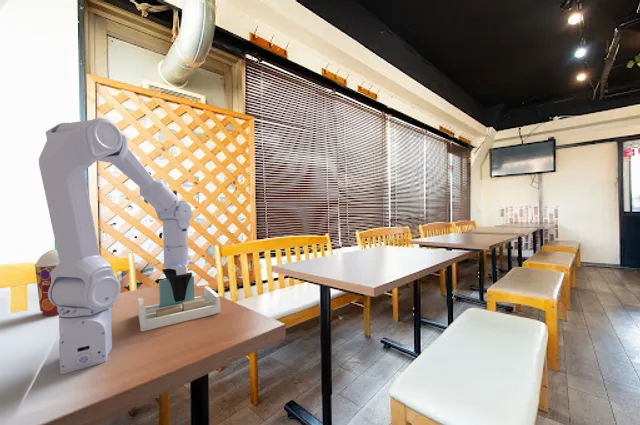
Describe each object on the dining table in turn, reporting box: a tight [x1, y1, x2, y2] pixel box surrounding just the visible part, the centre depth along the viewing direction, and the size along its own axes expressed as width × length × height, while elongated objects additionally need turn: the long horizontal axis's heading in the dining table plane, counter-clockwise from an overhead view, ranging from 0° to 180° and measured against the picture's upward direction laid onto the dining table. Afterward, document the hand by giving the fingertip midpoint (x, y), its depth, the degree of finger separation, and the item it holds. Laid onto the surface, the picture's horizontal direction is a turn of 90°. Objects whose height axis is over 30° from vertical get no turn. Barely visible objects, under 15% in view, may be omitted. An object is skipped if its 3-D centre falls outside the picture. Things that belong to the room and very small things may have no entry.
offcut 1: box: [156, 305, 181, 317], centre depth 64 cm, size 2×5×3 cm, turn 127°
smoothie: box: [34, 242, 60, 317], centre depth 74 cm, size 8×8×20 cm
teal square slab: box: [158, 274, 195, 308], centre depth 71 cm, size 2×8×8 cm, turn 126°
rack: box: [137, 286, 221, 332], centre depth 68 cm, size 12×17×5 cm
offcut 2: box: [182, 298, 206, 311], centre depth 67 cm, size 2×5×4 cm, turn 127°
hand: (177, 297), depth 71 cm, fingers open, 7 cm apart
